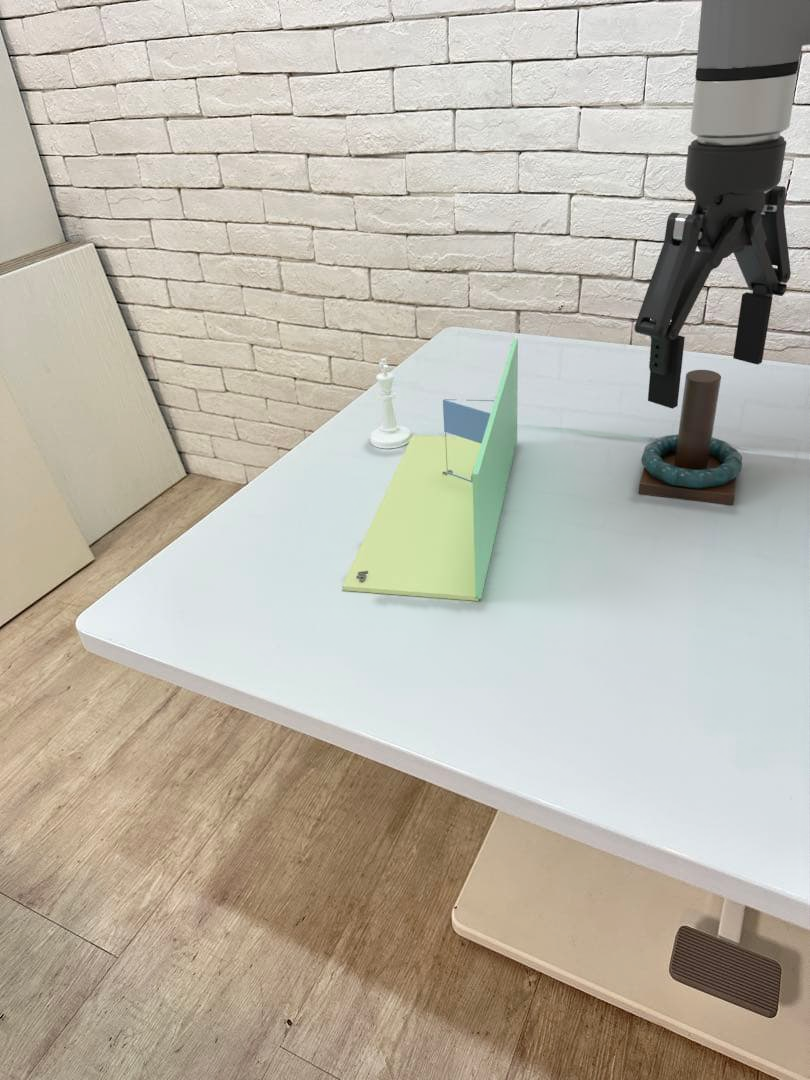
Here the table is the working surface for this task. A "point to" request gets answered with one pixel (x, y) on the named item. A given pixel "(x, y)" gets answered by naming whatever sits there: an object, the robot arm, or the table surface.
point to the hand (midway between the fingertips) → (706, 381)
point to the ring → (692, 476)
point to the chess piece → (388, 415)
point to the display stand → (444, 504)
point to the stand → (694, 443)
